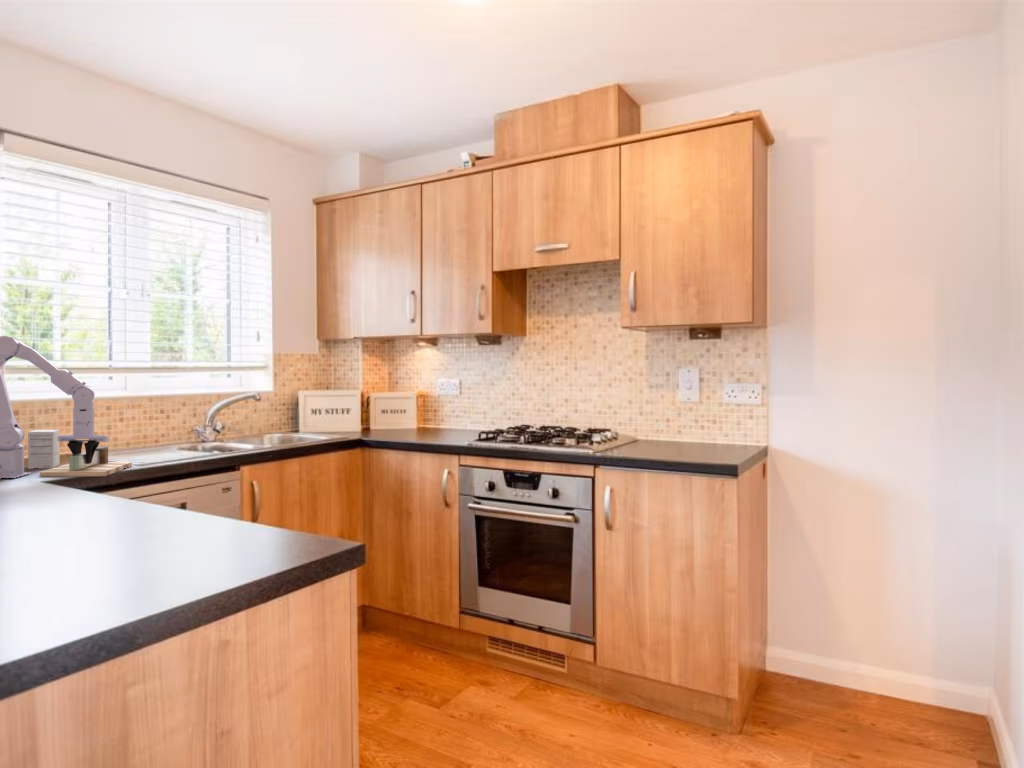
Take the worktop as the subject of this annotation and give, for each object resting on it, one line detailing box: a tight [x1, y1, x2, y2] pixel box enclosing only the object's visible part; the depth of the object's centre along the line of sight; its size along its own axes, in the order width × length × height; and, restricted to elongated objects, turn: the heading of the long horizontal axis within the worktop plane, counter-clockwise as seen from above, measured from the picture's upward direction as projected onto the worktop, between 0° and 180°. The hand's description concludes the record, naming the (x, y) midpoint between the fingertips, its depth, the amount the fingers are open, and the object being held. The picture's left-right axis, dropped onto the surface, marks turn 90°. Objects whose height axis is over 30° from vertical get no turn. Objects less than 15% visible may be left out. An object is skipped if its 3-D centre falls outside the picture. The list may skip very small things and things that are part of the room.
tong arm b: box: [68, 451, 86, 470], centre depth 208 cm, size 14×1×5 cm, turn 10°
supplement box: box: [27, 429, 60, 470], centre depth 216 cm, size 7×7×13 cm
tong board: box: [39, 446, 133, 477], centre depth 209 cm, size 20×19×7 cm
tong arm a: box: [74, 450, 100, 470], centre depth 208 cm, size 14×1×5 cm, turn 9°
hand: (83, 463), depth 207 cm, fingers open, 3 cm apart
